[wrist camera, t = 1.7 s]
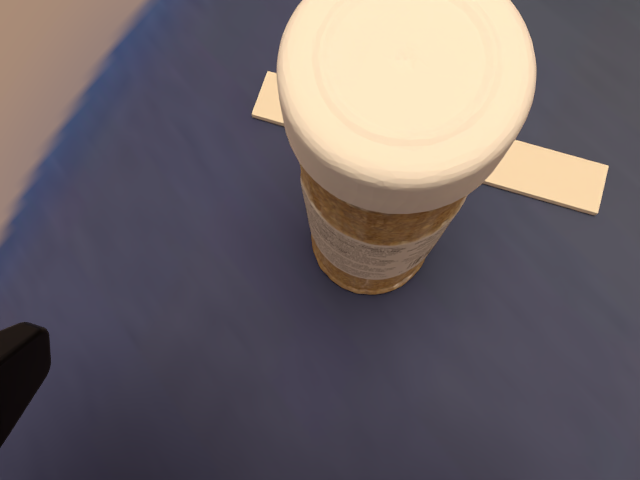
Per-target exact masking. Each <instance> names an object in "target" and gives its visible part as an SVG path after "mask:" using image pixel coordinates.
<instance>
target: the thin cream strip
mask: <svg viewBox="0 0 640 480" xmlns="http://www.w3.org/2000/svg"><path fill="white" fill-rule="evenodd" d="M252 117H253V118H257V119H260V120H264V121H267V122H270V123H274V124H277V125H281V126H284V121H283V116H282V111H281V106H280V101H279V94H278V86H277V74H276V73H273V72H269V71H268V72H267V74H266V77H265V80H264V82H263V85H262V88H261V90H260V93H259V96H258V98H257V101H256V104H255V106H254V109H253V112H252ZM284 127H285V126H284ZM607 171H608V166H607V165H603V164H600V163H596V162H593V161H589V160H585V159H582V158H578V157H575V156H571V155H568V154H564V153H560V152H557V151H553V150H550V149H546V148H542V147H539V146H535V145H532V144H528V143H524V142H521V141H517V140H514V142H513V144H512V145H511V147H510V148H509V150H508V151H507V153H506V154H505V156H504V157H503V159H502V160H501V161H500V163H499V164H498V165H497V167H496V168H495V170H494V171H493V172H492V173H491V174H490V176H489V177H488V178H487V179H486V180H485V181H484V182H483V184H486V185H490V186H493V187H497V188H500V189H504V190H507V191H511V192H514V193H518V194H521V195H525V196H528V197H532V198H535V199H539V200H542V201H546V202H549V203H553V204H556V205H560V206H563V207H567V208H570V209H574V210H577V211H581V212H584V213H588V214H591V215H594V216H595V215H596V214H598V211H599V206H600V202H601V197H602V193H603V189H604V184H605V180H606V175H607Z"/></svg>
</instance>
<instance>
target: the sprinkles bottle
mask: <svg viewBox="0 0 640 480" xmlns="http://www.w3.org/2000/svg"><path fill="white" fill-rule="evenodd" d="M535 84H536V59H535V54H534V49H533V44H532V40H531V37H530V35H529V32H528V30H527V27H526V25H525V22H524V21H523V19H522V17H521V15H520V13H519V12H518V10H517V9H516V8H515V6H514V5H513V3H512V2H511V1H510V0H302V1H301V3H300V4H299V5H298V6H297V8H296V10H295V11H294V13H293V14H292V16H291V18H290V20H289V22H288V24H287V26H286V28H285V31H284V33H283V36H282V39H281V43H280V47H279V53H278V60H277V86H278V94H279V101H280V106H281V111H282V116H283V121H284V126H285V130H286V134H287V137H288V140H289V143H290V145H291V147H292V149H293V151H294V153H295V155H296V157H297V159H298V161H299V163H300V166H301V177H300V178H301V186H302V191H303V196H304V201H305V205H306V210H307V216H308V221H309V226H310V230H311V233H312V234H311V239H312V247H313V251H314V254H315V256H316V259H317V261H318V264H319V266H320V268H321V269H322V271H323V272H325V273H326V274H327V275H328V277H329V278H330V279H331V280H332V281H333V282H335V283H336V284H338V285H339V286H340V287H342V288H344V289H347V290H349V291H352V292H354V293H357V294H370V295H372V294H381V293H386V292H389V291H392V290H395V289H397V288H399V287H401V286H403V285H404V284H405V283H406V282H407V281H408V280H409V279H411V278H412V277H413V276H414V275H415V274H416V272H417V271H418V270H419V269H420V268H421V266H422V264H423V262H424V260H425V257H426V256H427V255H428V254H429V252H430V251H431V250H432V248H433V247H434V245H435V244H436V243H437V241H438V240H439V238H440V237H441V235H442V234H443V232H444V231H445V229H446V228H447V226H448V225H449V223H450V222H451V221H452V219H453V218H454V217H455V215H456V214H457V213H458V211H459V209H460V208H461V206H462V205H463V203H464V201H465V199H466V197H467V195H468V194H469V193H471V192H472V191H473V190H475V189H476V188H477V187H478V186H480V185H481V184H482V183H483V182H484V181H485V180H486V179H487V178H488V177H489V176H490V174H491V173H492V172H493V171H494V170H495V168H496V167H497V165H498V164H499V163H500V161H501V160H502V159H503V157H504V156H505V154H506V153H507V151H508V150H509V148H510V147H511V145H512V144H513V142H514V140H515V139H516V137H517V135H518V133H519V132H520V130H521V128H522V126H523V124H524V122H525V120H526V118H527V116H528V113H529V110H530V108H531V105H532V102H533V97H534V92H535Z"/></svg>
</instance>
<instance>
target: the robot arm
mask: <svg viewBox="0 0 640 480" xmlns="http://www.w3.org/2000/svg"><path fill="white" fill-rule="evenodd" d="M50 365H51V355H50V339H49V332H48V331H47V329H46V328H44V327H41V326H38V325H35V324H32V323H29V322H22V323H18V324H16V325H13V326H11V327H8V328H6V329H3V330H1V331H0V447H1V446H2V444H3V443H4V441H5V440H6V438H7V437H8V435H9V434H10V432H11V431H12V429H13V428H14V426H15V424H16V423H17V421H18V420H19V418H20V417H21V415H22V414H23V412H24V410H25V409H26V407H27V406H28V404H29V403H30V401H31V400H32V398H33V396H34V395H35V393H36V392H37V390H38V389H39V387H40V386H41V384H42V383H43V381H44V379H45V378H46V376H47V374H48V372H49V369H50Z"/></svg>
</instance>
